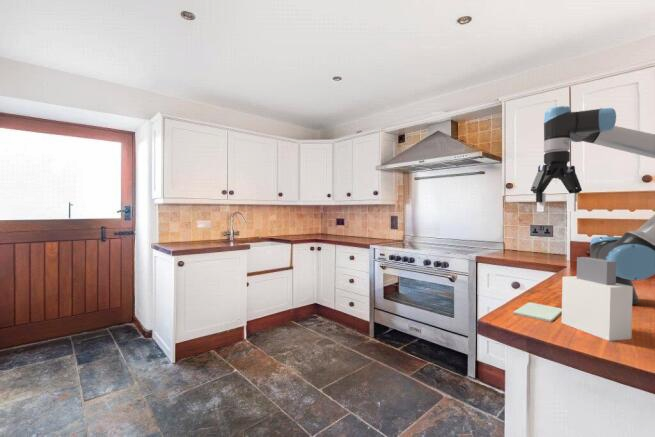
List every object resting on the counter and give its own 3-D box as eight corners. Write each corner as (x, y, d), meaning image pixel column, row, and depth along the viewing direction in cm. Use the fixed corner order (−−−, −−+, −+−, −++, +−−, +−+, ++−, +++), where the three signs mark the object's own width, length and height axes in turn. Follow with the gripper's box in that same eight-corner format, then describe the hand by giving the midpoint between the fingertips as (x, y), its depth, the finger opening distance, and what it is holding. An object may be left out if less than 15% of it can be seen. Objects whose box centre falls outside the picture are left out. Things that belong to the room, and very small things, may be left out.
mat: (563, 310, 103) (563, 308, 103) (550, 322, 93) (550, 319, 92) (528, 303, 111) (528, 302, 111) (513, 313, 100) (513, 311, 100)
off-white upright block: (581, 321, 93) (582, 255, 93) (631, 338, 80) (633, 262, 80) (561, 322, 92) (563, 256, 91) (609, 340, 79) (611, 263, 79)
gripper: (537, 148, 106) (537, 211, 106) (594, 151, 112) (594, 211, 112) (519, 152, 113) (519, 211, 113) (573, 155, 119) (573, 211, 119)
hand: (556, 211), depth 113 cm, fingers open, 13 cm apart
